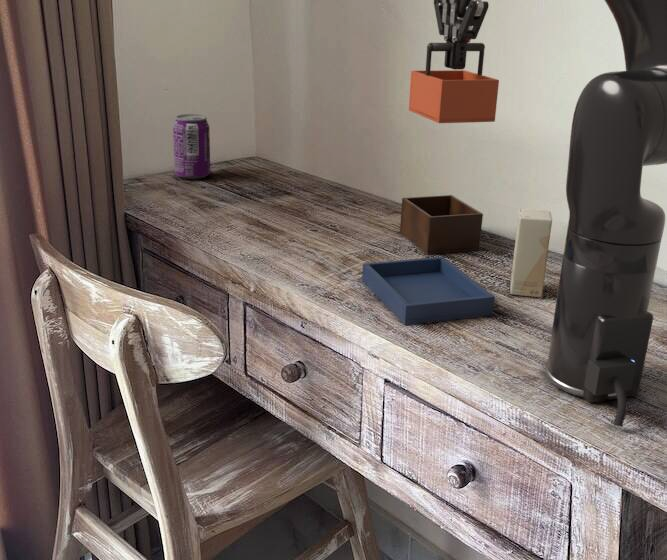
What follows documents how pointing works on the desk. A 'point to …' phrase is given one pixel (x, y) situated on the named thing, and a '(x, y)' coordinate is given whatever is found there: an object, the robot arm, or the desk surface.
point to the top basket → (453, 91)
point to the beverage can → (191, 146)
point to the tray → (427, 290)
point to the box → (530, 252)
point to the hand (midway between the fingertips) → (454, 68)
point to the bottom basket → (441, 224)
